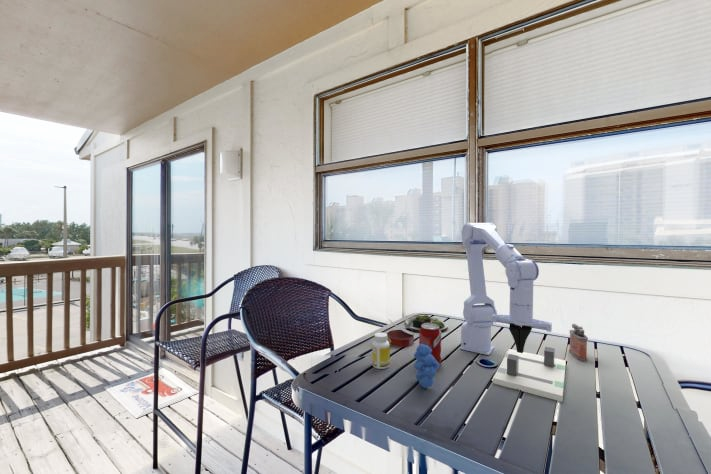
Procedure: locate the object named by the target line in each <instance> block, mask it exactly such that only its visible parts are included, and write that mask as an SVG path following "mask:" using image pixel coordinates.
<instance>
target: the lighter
mask: <svg viewBox="0 0 711 474" xmlns="http://www.w3.org/2000/svg"><path fill="white" fill-rule="evenodd" d="M571 328H572V329H569V350H568V353H569V355H570V356H572V357H573V358H574V359H575V360H577V361H579V362H582V361H584V363H586V362H585V361H587V362H588V357H587V356H588V355H587V351H588V340H589V338H588V336H587V335H586V334H585V329H584V328H583V326H579V325H577V324H575V323H572V324H571Z"/></svg>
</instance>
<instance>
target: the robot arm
mask: <svg viewBox="0 0 711 474" xmlns="http://www.w3.org/2000/svg"><path fill="white" fill-rule="evenodd" d="M497 229H498V228H497V226H496V225H495V224H494V223H493V222H491V221H490V222H465V223H464V225H463V226H462V229H461V240H462V246H463V247H464V248H465V250H466V259H467V270H468V271H467V272H468V280H469V281H468V282H469V290H470V295H469V296H468V298H466V299H465V300H464V301H463V312H462V315H463V318H464V320H465V321H463V322H462V325H461V330H460V350H463V351H468V352H471V353H477V354H481V355H486V356H490V355H491V353H492V352H493V350H494V349H495V346H494V345H492V326H494V323H500V324H506V325H509V327H508V330H509V332H510V334H511V336H512V338H513V341H514V345H515V347H516V350H517V352H519V353H523V352H525V351H524V349H525V345H526V342H527V339H528V337H529V335H530V334H531V332H532V330H533V329H537V330H542V331H546V332H549V333H550V332H552V328H553V327H552V325H553V323H552V322H548V321H544V320H539V319H535V318H534V317H533V316H534V311H533V310H534V282H535V280H537V279H538V277H539V275H540V269H539V265H538V264H537V262H536V261H535V260H533V259H531V258H530V259H529V258H525V257H524V256H523V255H522V253H520V252H519V251H518V250H517V249H516V248H515V245H513V244H510V243H505V242H504V240H503V239H502V237H501V236H500V235H499V234H498V230H497ZM488 246H489V247H490V248H491V249H493V250H494V252H495V258H496V259H497V260H498V262H499V263H500V264H501V265H502V266H503V268H505V269H504V270H505V276H506V278H507V285H508V287H509V315H508V314H498V312H497V311H498V310H497V309H496V306H495V301H494V300H493V299H492V298H490V297H489V296H488V295H487V287H486V279H485V269H484V262H483V250H484V248H485V247H488Z"/></svg>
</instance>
